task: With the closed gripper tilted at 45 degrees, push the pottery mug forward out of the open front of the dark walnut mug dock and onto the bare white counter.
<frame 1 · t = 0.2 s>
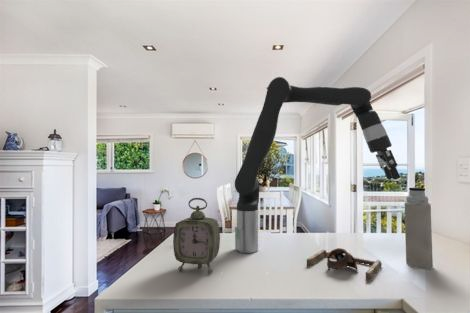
hand: (393, 178, 100), 31 cm above the counter, tool tilted 20°, fingers open, 8 cm apart
walnut mug dock: (341, 269, 95), on the counter
thermos bottle: (419, 265, 98), on the counter
pottery mug: (341, 270, 95), on the counter
tabletop clock: (197, 270, 95), on the counter
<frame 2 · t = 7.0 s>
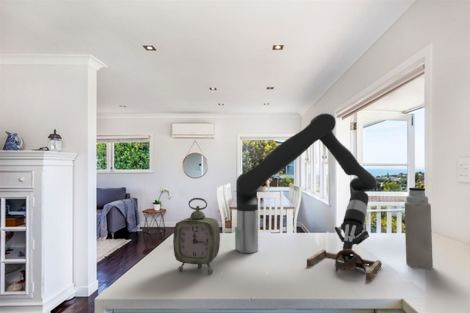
hand: (346, 251, 100), 4 cm above the counter, tool tilted 45°, fingers closed
pottery mug: (349, 271, 94), on the counter, touching gripper
everything else where it was.
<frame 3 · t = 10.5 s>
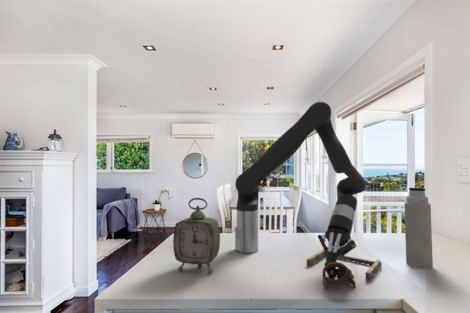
hand: (329, 264, 87), 4 cm above the counter, tool tilted 45°, fingers closed
pottery mug: (337, 287, 81), on the counter, touching gripper
everything else where it was.
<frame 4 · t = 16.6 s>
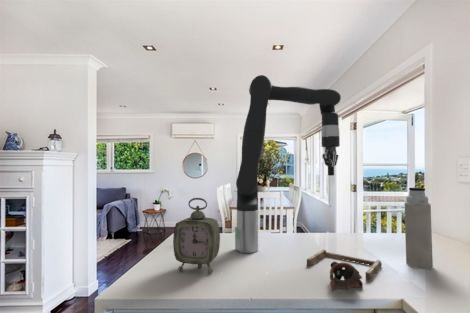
hand: (331, 175, 120), 32 cm above the counter, tool pointing down, fingers closed
pottery mug: (344, 288, 81), on the counter
everything else where it was.
at the end: pottery mug inside the target area (6.8 cm from its centre), on the counter; pottery mug tilted 0°; pottery mug moved 14.9 cm from its start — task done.
